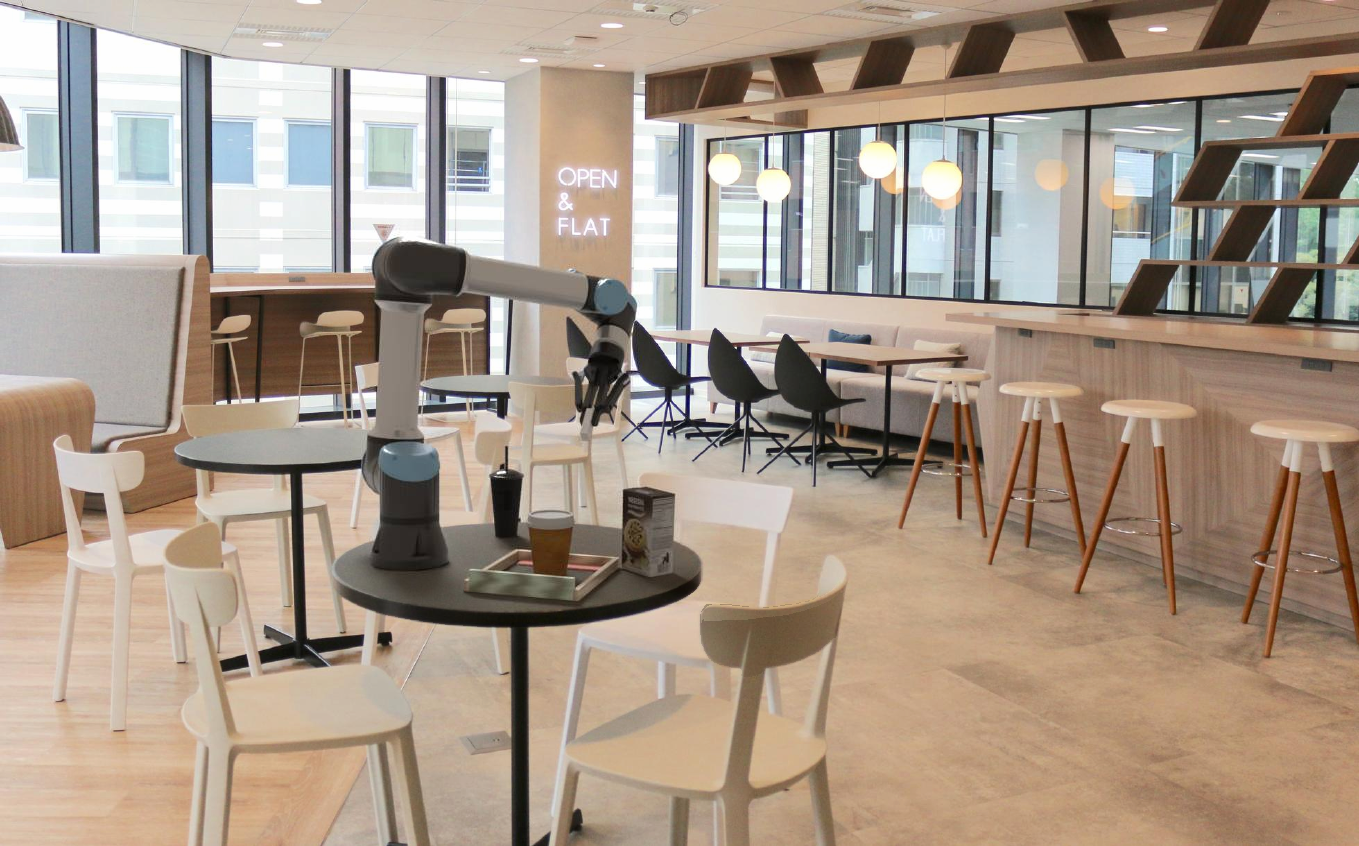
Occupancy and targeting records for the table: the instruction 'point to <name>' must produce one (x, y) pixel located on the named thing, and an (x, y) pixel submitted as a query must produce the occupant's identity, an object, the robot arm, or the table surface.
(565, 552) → the disposable coffee cup
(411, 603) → the table surface
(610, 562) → the light wooden rectangular frame
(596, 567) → the mats
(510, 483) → the drinking cup
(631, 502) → the coffee box
